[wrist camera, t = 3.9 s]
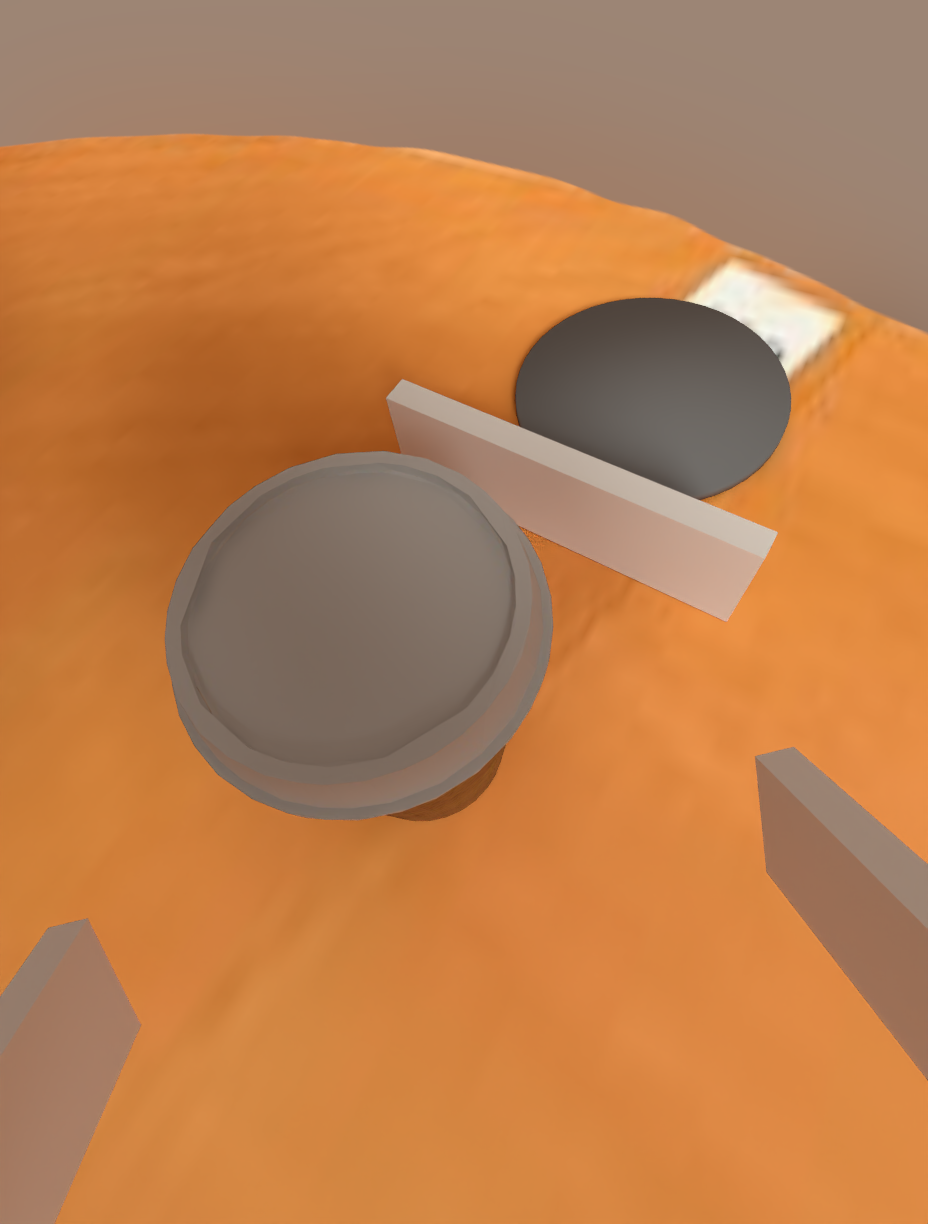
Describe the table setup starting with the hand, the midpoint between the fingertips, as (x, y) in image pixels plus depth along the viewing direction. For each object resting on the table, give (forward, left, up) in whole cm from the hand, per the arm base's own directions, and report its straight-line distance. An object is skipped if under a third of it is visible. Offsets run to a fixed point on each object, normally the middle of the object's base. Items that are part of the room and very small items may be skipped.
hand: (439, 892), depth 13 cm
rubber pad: (-5, +24, -11) cm, 27 cm away
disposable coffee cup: (-5, +4, -11) cm, 13 cm away
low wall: (-5, +15, -11) cm, 20 cm away
